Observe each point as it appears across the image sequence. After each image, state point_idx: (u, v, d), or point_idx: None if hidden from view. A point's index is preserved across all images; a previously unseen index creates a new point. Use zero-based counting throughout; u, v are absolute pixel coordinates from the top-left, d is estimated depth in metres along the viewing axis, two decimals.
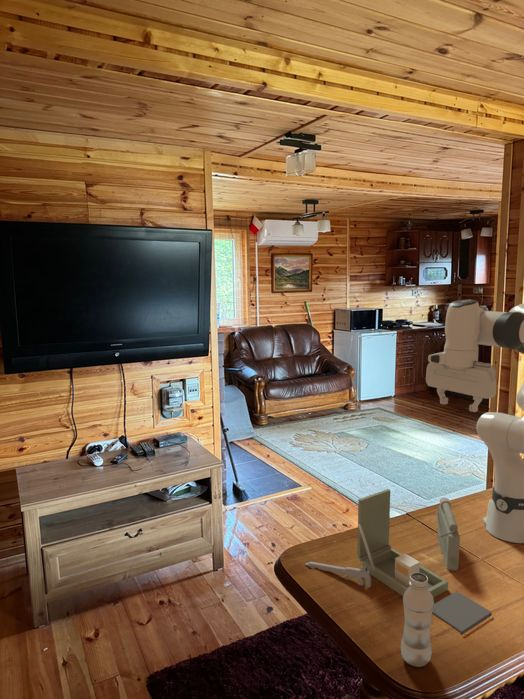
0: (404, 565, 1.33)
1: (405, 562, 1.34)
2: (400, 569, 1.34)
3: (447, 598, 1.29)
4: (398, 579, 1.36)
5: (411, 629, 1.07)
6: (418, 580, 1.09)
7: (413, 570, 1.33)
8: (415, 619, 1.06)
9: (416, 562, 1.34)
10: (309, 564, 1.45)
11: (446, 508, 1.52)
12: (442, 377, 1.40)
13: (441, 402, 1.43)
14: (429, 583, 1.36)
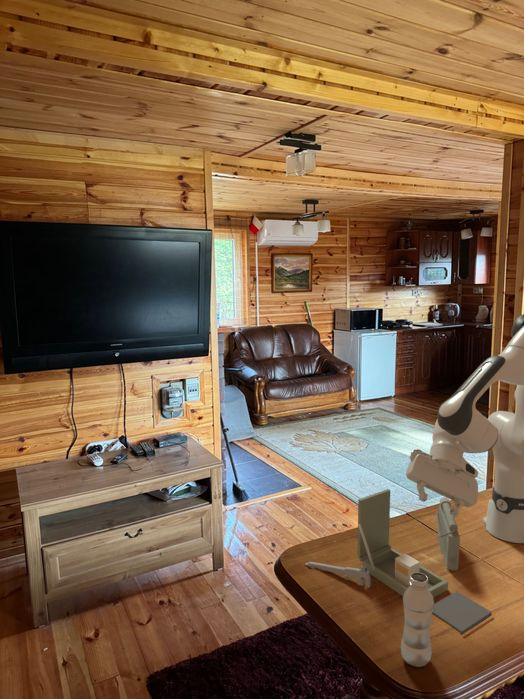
0: (404, 565, 1.33)
1: (405, 562, 1.34)
2: (400, 569, 1.34)
3: (447, 598, 1.29)
4: (398, 579, 1.36)
5: (411, 629, 1.07)
6: (418, 580, 1.09)
7: (413, 570, 1.33)
8: (415, 619, 1.06)
9: (416, 562, 1.34)
10: (309, 564, 1.45)
11: (446, 508, 1.52)
12: None
13: None
14: (429, 583, 1.36)
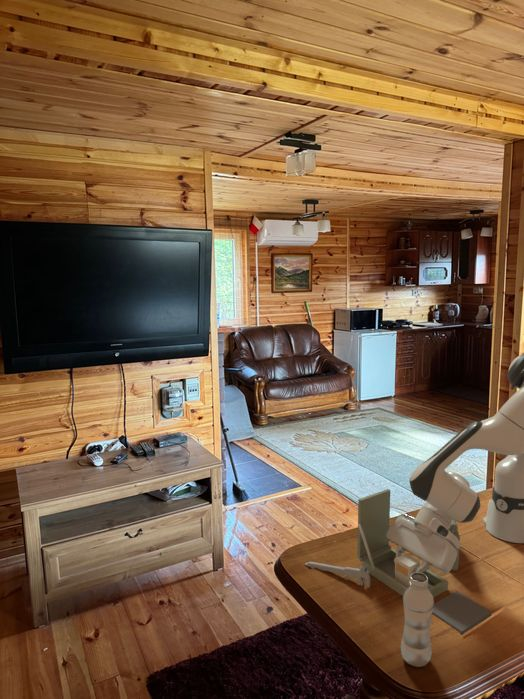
0: (404, 565, 1.33)
1: (405, 562, 1.34)
2: (400, 569, 1.34)
3: (447, 598, 1.29)
4: (398, 579, 1.36)
5: (411, 629, 1.07)
6: (418, 580, 1.09)
7: None
8: (415, 619, 1.06)
9: (416, 562, 1.34)
10: (308, 564, 1.45)
11: None
12: None
13: None
14: (429, 583, 1.36)
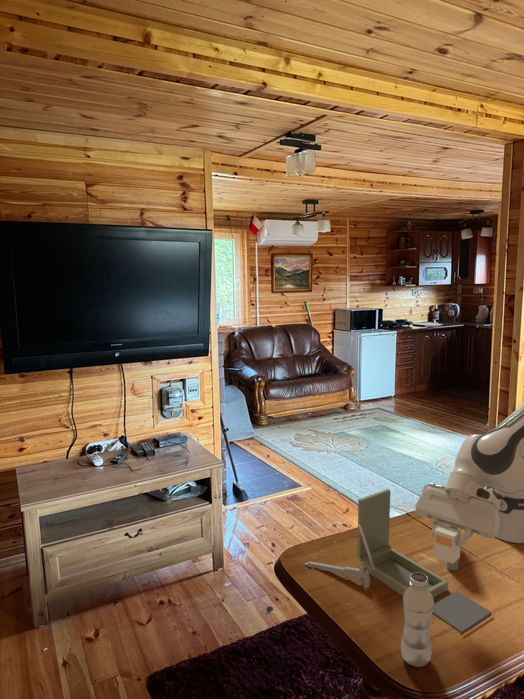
0: (446, 536, 1.22)
1: (447, 532, 1.23)
2: (441, 541, 1.23)
3: (447, 598, 1.29)
4: (439, 553, 1.24)
5: (411, 629, 1.07)
6: (418, 580, 1.09)
7: (456, 540, 1.22)
8: (415, 619, 1.06)
9: (457, 531, 1.23)
10: (308, 564, 1.45)
11: None
12: None
13: None
14: (429, 583, 1.36)
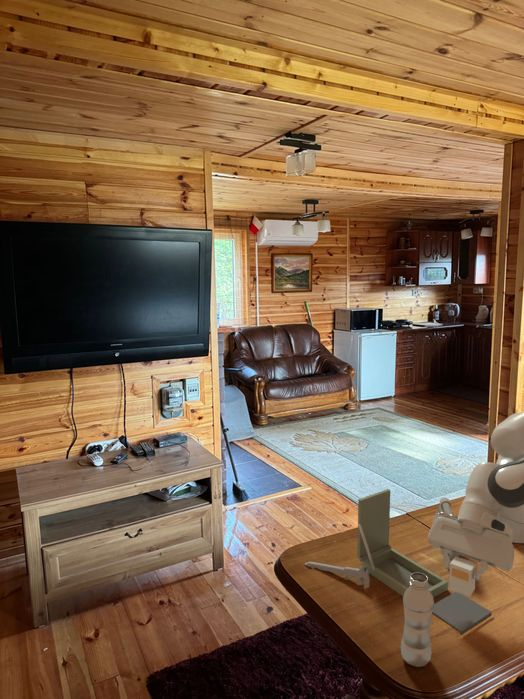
0: (463, 570, 1.20)
1: (463, 566, 1.21)
2: (457, 575, 1.21)
3: (447, 598, 1.29)
4: (454, 586, 1.22)
5: (411, 629, 1.07)
6: (418, 580, 1.09)
7: (472, 573, 1.21)
8: (415, 619, 1.06)
9: (473, 564, 1.22)
10: (308, 564, 1.45)
11: (446, 508, 1.52)
12: None
13: None
14: (429, 583, 1.36)
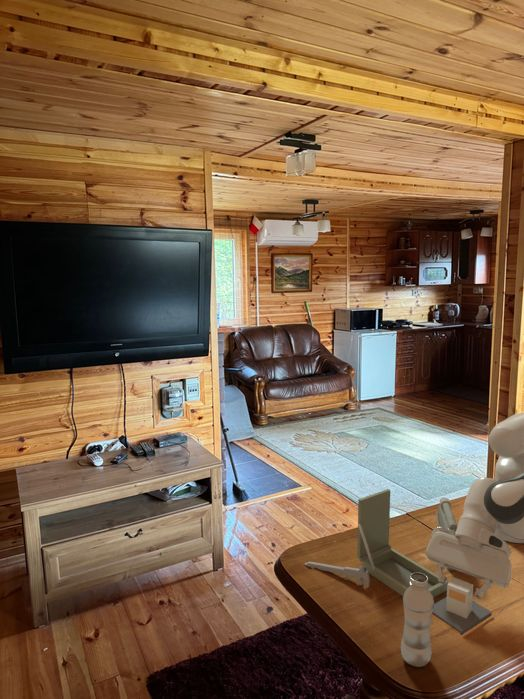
0: (460, 592, 1.22)
1: (460, 588, 1.22)
2: (455, 596, 1.22)
3: None
4: (451, 607, 1.24)
5: (411, 629, 1.07)
6: (418, 580, 1.09)
7: (469, 595, 1.22)
8: (415, 619, 1.06)
9: (470, 585, 1.23)
10: (308, 564, 1.45)
11: (446, 508, 1.52)
12: None
13: None
14: (429, 583, 1.36)
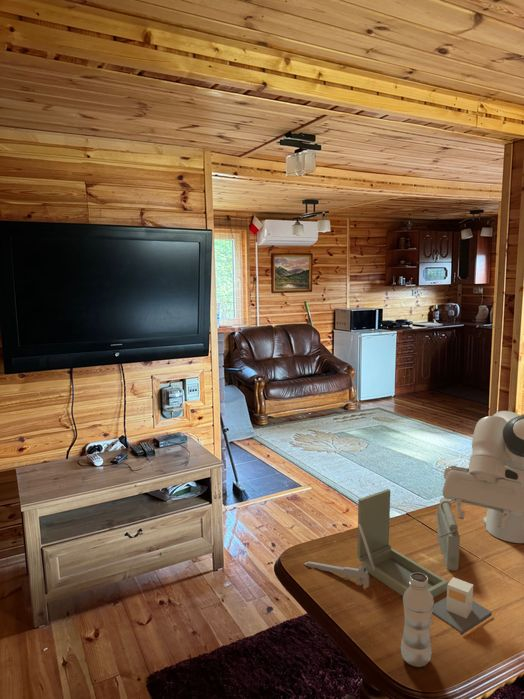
0: (460, 592, 1.22)
1: (460, 588, 1.22)
2: (455, 596, 1.22)
3: None
4: (451, 607, 1.24)
5: (411, 629, 1.07)
6: (418, 580, 1.09)
7: (469, 595, 1.22)
8: (415, 619, 1.06)
9: (470, 585, 1.23)
10: (308, 564, 1.45)
11: (446, 508, 1.52)
12: None
13: None
14: (429, 583, 1.36)
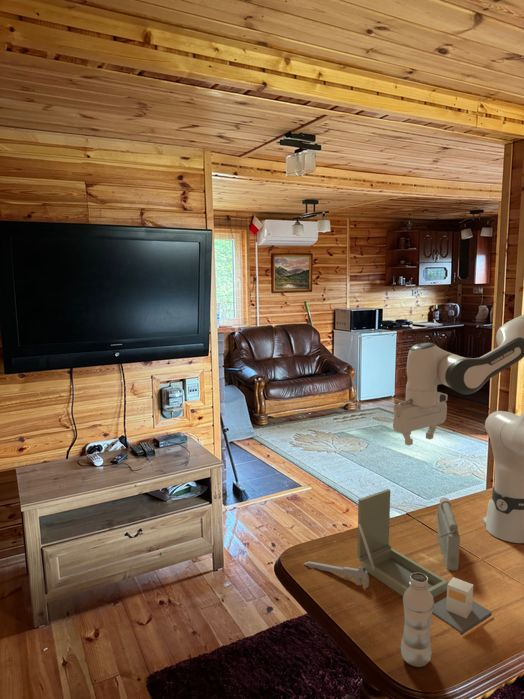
0: (460, 592, 1.22)
1: (460, 588, 1.22)
2: (455, 596, 1.22)
3: None
4: (451, 607, 1.24)
5: (411, 629, 1.07)
6: (418, 580, 1.09)
7: (469, 595, 1.22)
8: (415, 619, 1.06)
9: (470, 585, 1.23)
10: (307, 564, 1.45)
11: (446, 508, 1.52)
12: None
13: None
14: (429, 583, 1.36)
